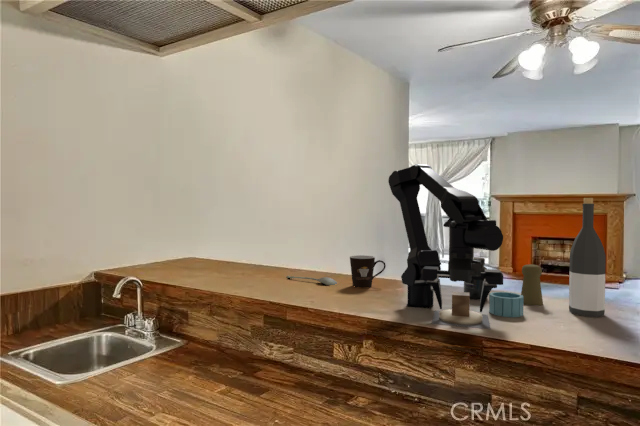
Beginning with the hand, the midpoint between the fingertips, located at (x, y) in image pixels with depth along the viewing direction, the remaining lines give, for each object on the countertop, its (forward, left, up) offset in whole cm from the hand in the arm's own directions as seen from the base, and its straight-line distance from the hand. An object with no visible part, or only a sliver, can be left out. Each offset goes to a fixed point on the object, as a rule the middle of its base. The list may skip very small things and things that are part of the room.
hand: (460, 310), depth 108 cm
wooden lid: (0, 0, -2) cm, 2 cm away
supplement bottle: (+4, +29, -3) cm, 29 cm away
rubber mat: (0, 0, -2) cm, 2 cm away
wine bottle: (+31, +18, -3) cm, 36 cm away
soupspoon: (-52, +37, -3) cm, 64 cm away
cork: (+19, +26, -3) cm, 32 cm away
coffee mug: (-31, +35, -3) cm, 47 cm away
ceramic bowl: (+11, +10, -2) cm, 15 cm away
